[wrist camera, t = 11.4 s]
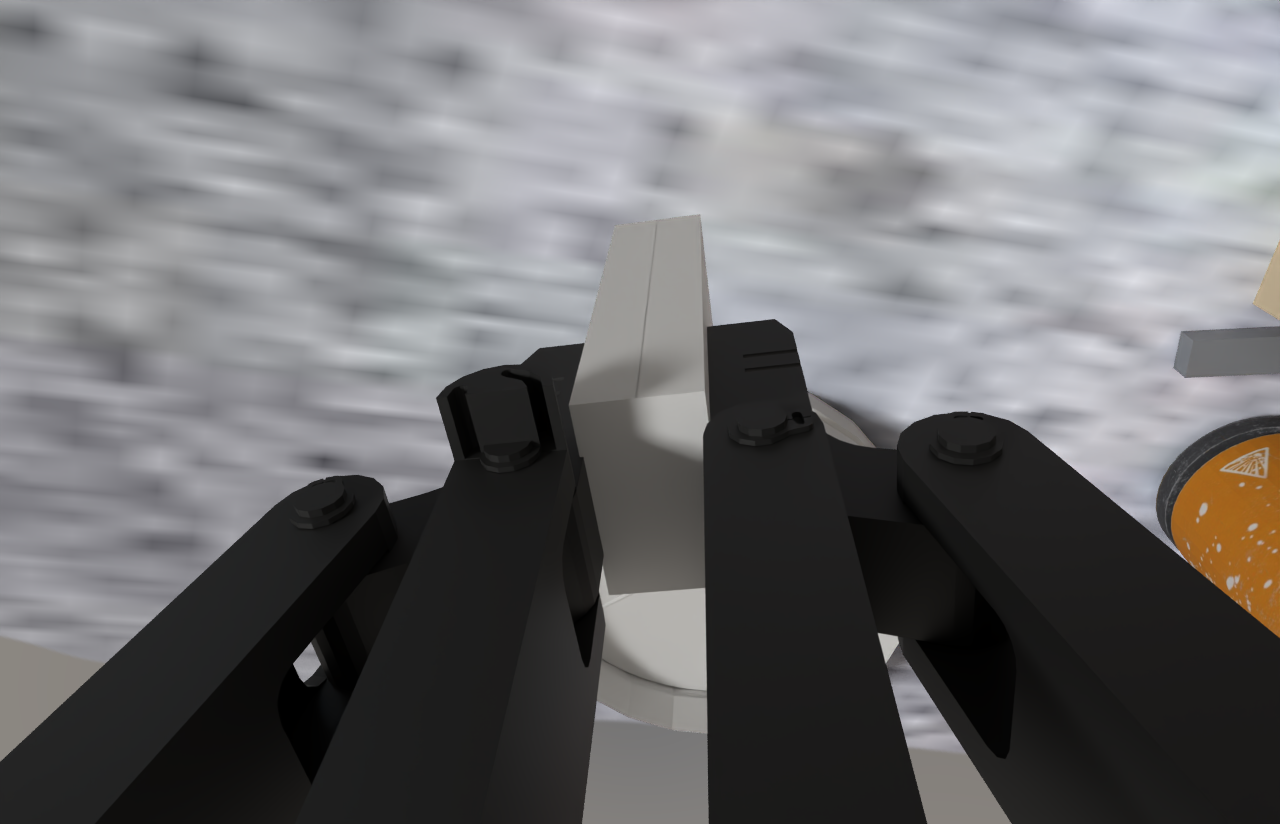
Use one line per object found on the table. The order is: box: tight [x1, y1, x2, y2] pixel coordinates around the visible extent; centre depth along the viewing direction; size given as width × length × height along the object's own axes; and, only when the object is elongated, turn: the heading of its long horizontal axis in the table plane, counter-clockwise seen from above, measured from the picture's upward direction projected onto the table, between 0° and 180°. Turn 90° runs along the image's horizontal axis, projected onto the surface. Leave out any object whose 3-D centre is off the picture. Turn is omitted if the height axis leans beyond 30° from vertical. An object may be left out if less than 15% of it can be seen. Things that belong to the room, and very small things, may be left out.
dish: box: [597, 393, 899, 733], centre depth 49 cm, size 22×22×5 cm
